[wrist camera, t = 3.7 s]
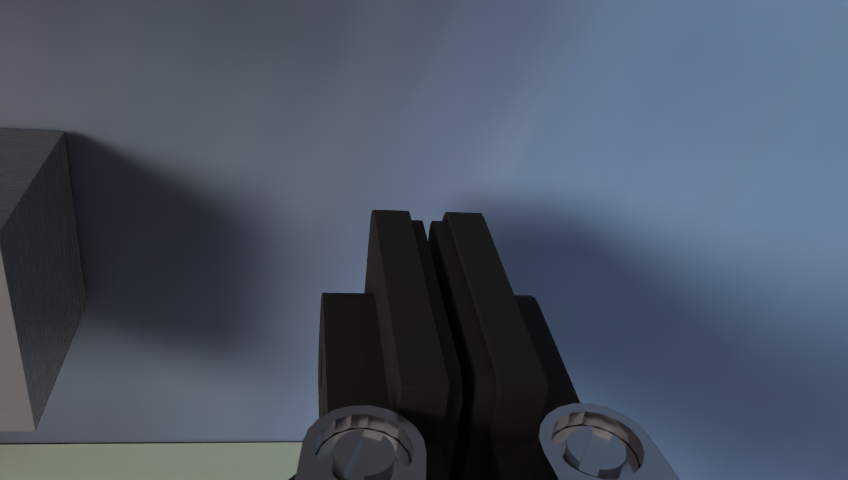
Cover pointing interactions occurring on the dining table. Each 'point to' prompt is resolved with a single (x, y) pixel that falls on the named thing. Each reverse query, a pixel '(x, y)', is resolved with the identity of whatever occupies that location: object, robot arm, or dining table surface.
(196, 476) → the square tray
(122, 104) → the dining table surface
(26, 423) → the bar
